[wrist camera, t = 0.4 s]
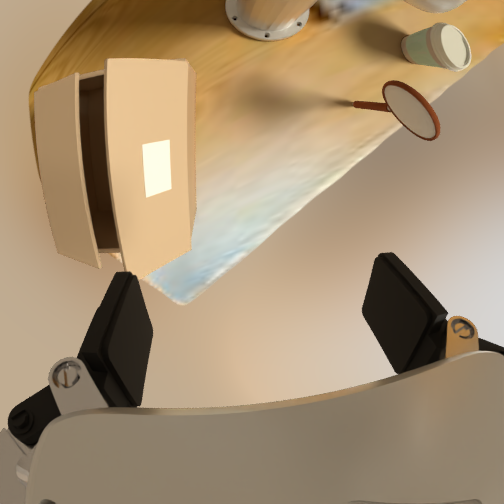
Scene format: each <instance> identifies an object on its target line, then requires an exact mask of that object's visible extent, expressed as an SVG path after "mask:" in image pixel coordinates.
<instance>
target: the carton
mask: <svg viewBox="0 0 504 504" xmlns="http://www.w3.org/2000/svg"><path fill="white" fill-rule="evenodd" d="M170 60H176V61H186V62H188V61H187V60H186V59H185V58H183V59H170ZM51 84H52V83H51ZM48 85H50V84H48ZM48 85H45V86H42V87H39V90H40V89H42V88H44V87H46V86H48ZM195 102H196V72H195V71H194V70H193V68H192V67H191V65H190V64H189V63H188V86H187V169H188V198H189V218H190V235H191V236H192V231H193V225H194V220H195V214H196V209H197V207H196V172H195ZM79 120H80V138H81V150H82V161H83V169H84V177H85V185H86V192H87V198H88V204H89V210H90V215H91V220H92V225H93V230H94V235H95V239H96V244H97V248H98V252H99V253H119V252H120V247H119V242H118V237H117V232H116V226H115V220H114V214H113V208H112V201H111V194H110V186H109V177H108V168H107V157H106V144H105V126H104V69H103V70H98V71H94V72H90V73H86V74H82V75H79Z"/></svg>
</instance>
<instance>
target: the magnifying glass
mask: <svg viewBox="0 0 504 504" xmlns="http://www.w3.org/2000/svg"><path fill="white" fill-rule="evenodd" d="M382 94H383V98H384V100H385V102H386V103H377V102H364V101H354V102H353V103H352V105H353V106H354V107H355V108H361V109H370V110H378V111H385V112H392V113H393V115H394V116H395V117H396V118H397V119H398V120H399V121H400V123H401V124H402V125H403V126H405V127H406V128H407V129H408V130H409V131H410V132H412V133H413V134H415V135H416V136H418V137H419V138H422V139H424V140H427V141H432V140H435V139H436V138H437V137H438V136H439V134H440V123H439V120H438V117H437V115H436V113H435V112H434V110H433V109H432V107H431V106H430V104H429V103H428V102H427V101H426V99H425V98H424V97H423V96H422V95H421V94H420V93H418V92H417V91H416V90H415V89H413V88H412V87H410V86H409V85H407V84H405V83H403V82H400V81H394V80H393V81H388V82H386V83H385V84H384V86H383V89H382Z"/></svg>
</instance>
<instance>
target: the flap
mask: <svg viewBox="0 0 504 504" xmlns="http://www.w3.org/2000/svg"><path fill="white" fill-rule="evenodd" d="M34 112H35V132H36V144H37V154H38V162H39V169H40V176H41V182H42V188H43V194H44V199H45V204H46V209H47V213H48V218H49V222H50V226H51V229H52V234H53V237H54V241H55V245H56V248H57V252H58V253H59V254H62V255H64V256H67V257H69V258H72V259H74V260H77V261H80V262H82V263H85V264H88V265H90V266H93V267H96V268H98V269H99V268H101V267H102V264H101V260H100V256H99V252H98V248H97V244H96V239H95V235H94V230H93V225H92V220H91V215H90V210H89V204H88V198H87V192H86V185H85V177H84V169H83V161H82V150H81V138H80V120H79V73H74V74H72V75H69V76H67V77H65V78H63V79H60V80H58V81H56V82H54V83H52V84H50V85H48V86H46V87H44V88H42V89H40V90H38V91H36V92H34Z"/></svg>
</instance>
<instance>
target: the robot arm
mask: <svg viewBox="0 0 504 504" xmlns="http://www.w3.org/2000/svg"><path fill="white" fill-rule="evenodd" d="M317 1H318V0H226V3H225V10H226V15H227V17H228V19H229V21H230V22H231V24H232V25H233V26H234V27H235V28H236V29H237V30H238V31H240V32H241V33H243V34H244V35H246V36H248V37H251V38H254V39H257V40H262V41H278V40H284V39H286V38H289V37H291V36H293V35H295V34H296V33H298V32H299V31H300V30H301V29H302V28H303V27H304V26H305V24H306V22H307V20H308V16H309V8H310V7H311V6H312V5H313V4H314V3H315V2H317ZM403 1H405V2H407V3H409V4H410V5H412V6H414V7H416V8H418V9H420V10H423V11H426V12H430V13H444V12H448V11H451V10H453V9H455V8H457V7H458V6H460V5H461V4H463V3H464V2H465V1H467V0H403ZM234 18H235V19H236V20H233V19H234ZM297 24H298V25H299V26H297ZM265 35H267V36H268V37H267V38H266V37H265ZM362 313H363V316H364V318H365V320H366V321H367V323H368V325H369V326H370V328H371V330H372V331H373V333H374V335H375V337H376V339H377V340H378V342H379V344H380V346H381V347H382V349H383V351H384V353H385V355H386V356H387V358H388V360H389V362H390V364H391V365H392V367H393V369H394V371H395V372H396V373H397V374H398V375H395V376H392V377H388V378H386V379H382V380H378V381H374V382H371V383H367V384H363V385H359V386H356V387H351V388H347V389H343V390H339V391H334V392H329V393H324V394H319V395H314V396H308V397H303V398H297V399H290V400H283V401H276V402H268V403H260V404H251V405H240V406H229V407H228V406H227V407H210V408H137V406H140V405H141V402H142V395H143V389H144V382H145V376H146V370H147V364H148V358H149V353H150V348H151V343H152V338H153V328H152V324H151V321H150V319H149V315H148V312H147V309H146V306H145V302H144V299H143V296H142V292H141V289H140V285H139V282H138V278H137V276H136V275H133V274H132V272H130V271H127V272H116V273H115V275H114V277H113V280H112V281H111V283H110V285H109V288H108V290H107V292H106V294H105V296H104V299H103V300H102V303H101V305H100V307H98V309H97V310H96V313H95V315H94V317H93V319H92V322H91V324H90V326H89V329H88V331H87V333H86V336H85V338H84V341H83V343H82V346H81V348H80V351H79V353H78V356H77V358H74V357H67V358H64V359H61V360H59V361H58V362H57V363H55V364H54V366H53V367H52V368H51V370H50V372H49V377H48V380H49V385H48V386H47V387H45V388H43V389H42V390H40V391H39V392H37V393H36V394H34V395H33V396H31V397H29V398H28V399H26V400H25V401H23V402H21V403H20V404H18V405H17V406H15V407H14V408H13V409H12V411H11V412H10V414H9V417H8V429H7V430H6V429H5V428H3V429H2V431H1V432H0V504H504V347H501V346H499V345H496V344H493V343H491V342H488V341H486V340H483V339H481V338H478V332H477V329H476V327H475V325H474V324H473V323H472V322H471V321H470V320H468V319H466V318H464V317H461V316H453V317H451V318H450V319H449V320H448V321H447V320H446V316H447V314H448V312H447V311H446V310H445V308H444V307H443V306H442V305H441V304H440V302H439V301H438V300H437V299H436V298H435V297H434V296H433V294H432V293H431V292H430V291H429V290H428V289H427V288H426V287H425V286H424V285H423V283H422V282H421V281H420V280H419V279H418V278H417V277H416V276H415V275H414V274H413V273H412V271H411V270H410V269H409V268H408V267H407V266H406V265H405V264H404V263H403V262H402V261H401V260H400V259H399V258H398V257H397V256H396V255H395V254H394V253H392V252H390V253H380V254H379V255H378V257H376V258H375V261H374V265H373V269H372V273H371V277H370V281H369V285H368V289H367V292H366V296H365V300H364V303H363V307H362Z"/></svg>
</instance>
